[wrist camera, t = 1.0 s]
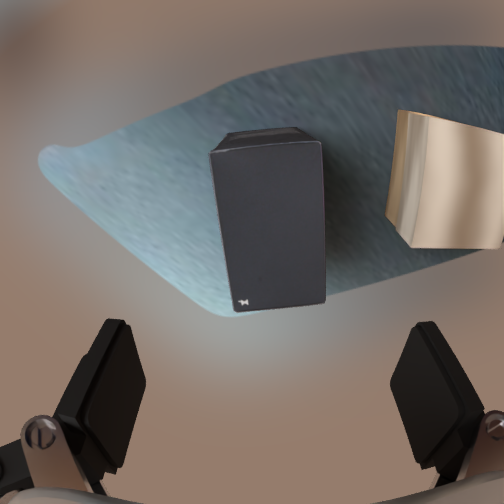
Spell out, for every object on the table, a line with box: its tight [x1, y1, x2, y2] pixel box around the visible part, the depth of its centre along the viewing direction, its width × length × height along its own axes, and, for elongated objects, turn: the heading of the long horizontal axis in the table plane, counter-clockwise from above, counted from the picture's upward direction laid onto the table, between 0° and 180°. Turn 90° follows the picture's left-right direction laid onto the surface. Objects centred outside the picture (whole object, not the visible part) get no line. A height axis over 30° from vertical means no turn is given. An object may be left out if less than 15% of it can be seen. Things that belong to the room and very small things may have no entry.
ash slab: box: [396, 113, 504, 249], centre depth 22 cm, size 10×10×4 cm
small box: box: [209, 127, 326, 313], centre depth 23 cm, size 11×6×10 cm, turn 6°
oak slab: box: [385, 110, 458, 227], centre depth 25 cm, size 10×10×4 cm
